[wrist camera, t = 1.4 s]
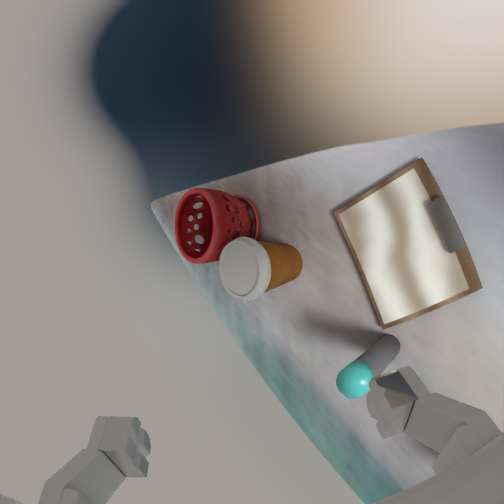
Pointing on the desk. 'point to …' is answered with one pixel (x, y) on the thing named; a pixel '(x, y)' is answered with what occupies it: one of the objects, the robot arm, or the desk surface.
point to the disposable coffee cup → (257, 267)
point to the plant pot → (213, 223)
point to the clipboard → (408, 246)
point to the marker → (367, 367)
